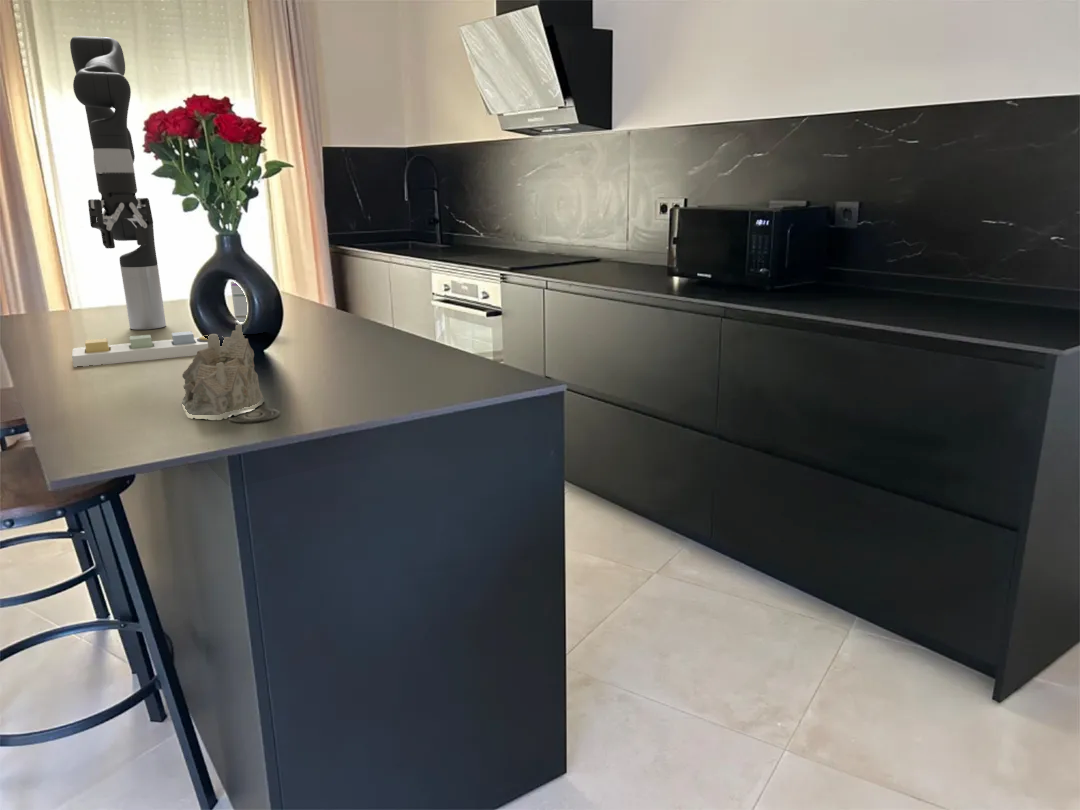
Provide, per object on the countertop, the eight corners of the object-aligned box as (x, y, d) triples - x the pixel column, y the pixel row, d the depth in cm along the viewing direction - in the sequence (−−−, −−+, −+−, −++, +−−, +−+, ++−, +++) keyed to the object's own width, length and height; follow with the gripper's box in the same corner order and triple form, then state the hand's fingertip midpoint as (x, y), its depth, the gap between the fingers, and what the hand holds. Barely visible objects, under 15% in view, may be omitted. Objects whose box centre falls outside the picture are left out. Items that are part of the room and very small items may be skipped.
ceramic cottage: (213, 391, 150) (202, 315, 145) (282, 402, 145) (273, 324, 139) (148, 418, 136) (134, 336, 131) (222, 432, 131) (210, 346, 126)
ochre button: (87, 352, 177) (85, 340, 177) (109, 350, 179) (107, 338, 179) (87, 356, 174) (85, 343, 173) (109, 354, 176) (107, 341, 175)
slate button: (173, 345, 186) (171, 332, 185) (193, 343, 188) (191, 331, 187) (174, 348, 182) (173, 335, 181) (194, 346, 184) (193, 334, 183)
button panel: (75, 358, 179) (72, 345, 178) (222, 344, 194) (220, 332, 193) (73, 367, 171) (71, 353, 170) (227, 352, 185) (226, 339, 184)
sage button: (131, 348, 182) (129, 336, 181) (152, 347, 184) (150, 334, 183) (132, 352, 178) (130, 339, 177) (153, 350, 180) (151, 337, 179)
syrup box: (258, 335, 206) (252, 280, 202) (236, 335, 206) (230, 280, 202) (265, 331, 212) (260, 278, 207) (244, 331, 212) (238, 278, 208)
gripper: (129, 171, 176) (140, 244, 180) (73, 170, 163) (86, 248, 168) (154, 171, 173) (164, 244, 178) (98, 170, 160) (111, 249, 165)
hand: (126, 246), depth 173 cm, fingers open, 8 cm apart
